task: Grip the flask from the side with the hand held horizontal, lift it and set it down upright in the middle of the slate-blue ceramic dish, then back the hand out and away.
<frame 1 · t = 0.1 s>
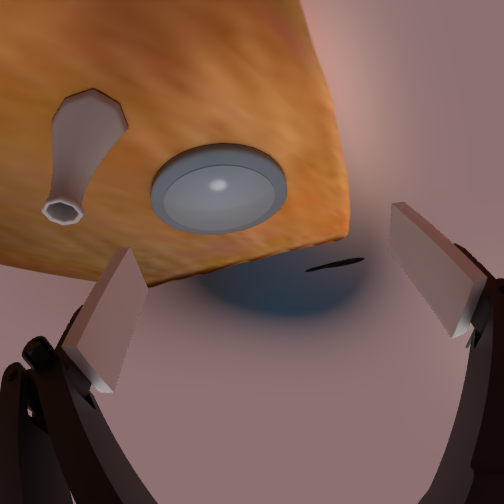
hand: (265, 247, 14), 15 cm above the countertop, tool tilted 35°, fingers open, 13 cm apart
dish: (218, 191, 34), on the countertop
flask: (90, 119, 21), on the countertop
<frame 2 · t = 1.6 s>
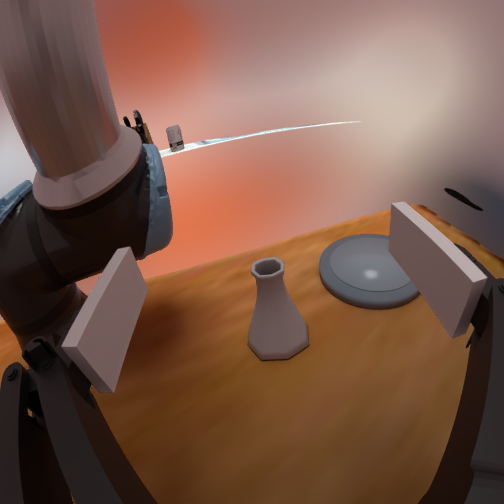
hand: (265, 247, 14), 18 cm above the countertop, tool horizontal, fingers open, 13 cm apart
dish: (373, 270, 39), on the countertop
supplement can: (178, 150, 158), on the countertop
flask: (278, 338, 32), on the countertop
knife block: (146, 160, 153), on the countertop
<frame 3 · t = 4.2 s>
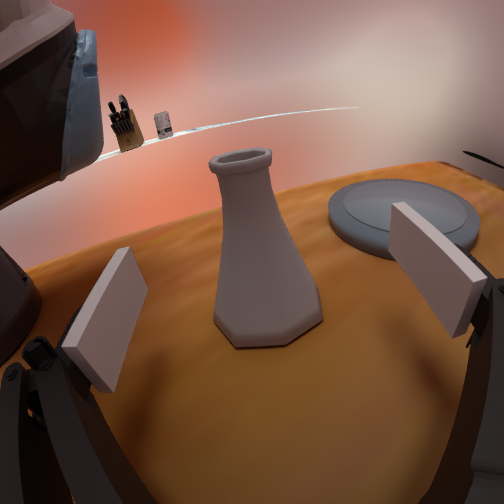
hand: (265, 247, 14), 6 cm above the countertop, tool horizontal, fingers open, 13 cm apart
dish: (405, 217, 26), on the countertop
supplement can: (166, 137, 145), on the countertop
flask: (268, 310, 19), on the countertop
knife block: (132, 148, 140), on the countertop
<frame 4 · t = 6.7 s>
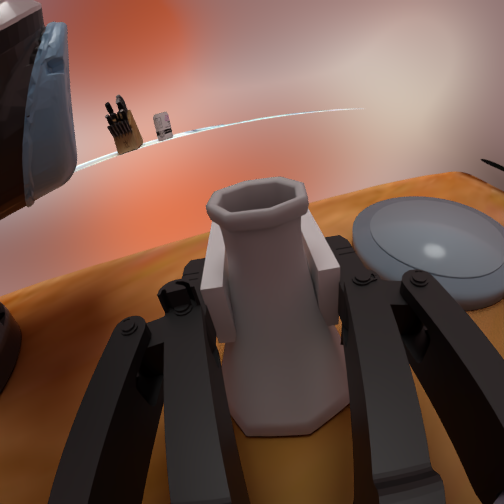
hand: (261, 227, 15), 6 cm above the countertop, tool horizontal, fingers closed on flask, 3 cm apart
dish: (438, 247, 21), on the countertop
supplement can: (165, 139, 141), on the countertop
flask: (285, 381, 14), on the countertop, touching gripper
knife block: (130, 150, 136), on the countertop
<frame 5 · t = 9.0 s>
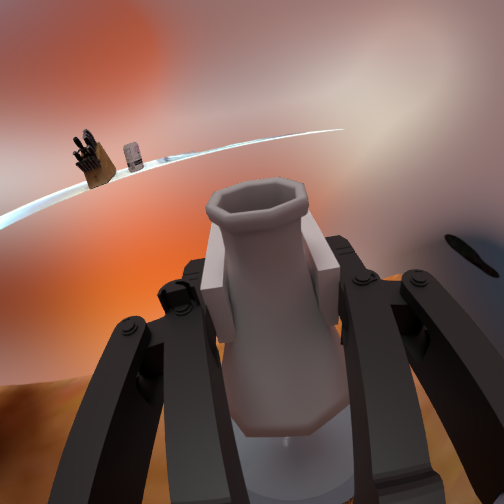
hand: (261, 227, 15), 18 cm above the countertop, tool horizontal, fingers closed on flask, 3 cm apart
dish: (295, 437, 21), on the countertop
supplement can: (136, 170, 140), on the countertop
flask: (285, 382, 14), point 12 cm above the countertop, touching gripper
knife block: (102, 183, 134), on the countertop
when the fingers open (9 cm above the countertop, at t = 11.4 s): flask drops 1 cm, resting on dish.
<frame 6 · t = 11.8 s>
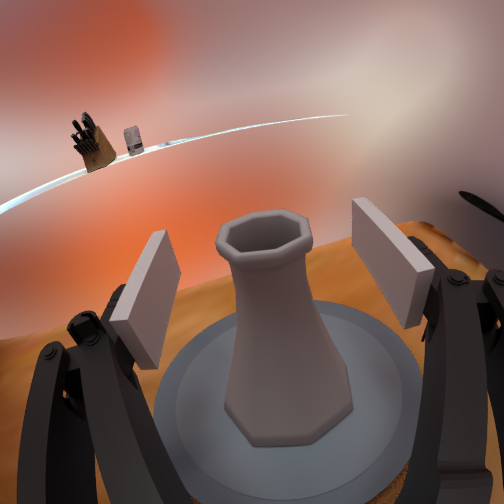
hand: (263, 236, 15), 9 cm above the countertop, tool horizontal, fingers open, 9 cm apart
dish: (289, 404, 15), on the countertop
supplement can: (137, 154, 135), on the countertop
flask: (287, 393, 14), point 1 cm above the countertop, touching dish
knife block: (101, 167, 130), on the countertop
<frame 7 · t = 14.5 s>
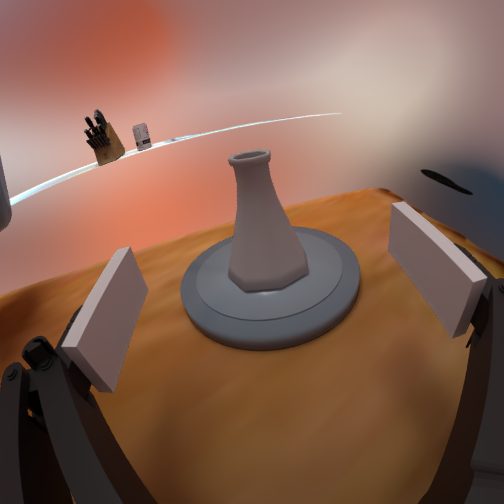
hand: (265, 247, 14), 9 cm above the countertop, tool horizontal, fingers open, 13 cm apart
dish: (270, 281, 26), on the countertop
supplement can: (145, 149, 146), on the countertop
flask: (268, 268, 25), point 1 cm above the countertop, touching dish
knife block: (111, 161, 141), on the countertop
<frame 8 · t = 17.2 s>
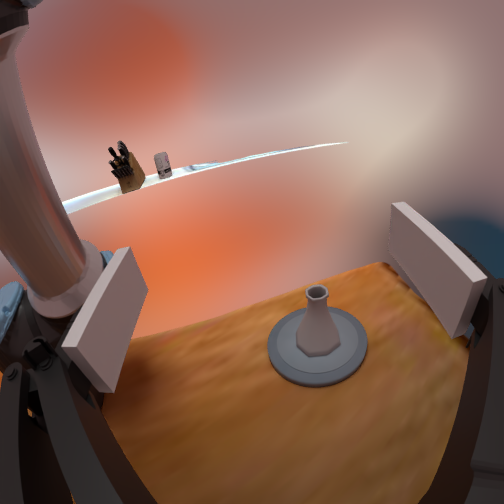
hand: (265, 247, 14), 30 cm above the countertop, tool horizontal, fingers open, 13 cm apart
dish: (317, 346, 44), on the countertop
supplement can: (166, 177, 164), on the countertop
flask: (317, 340, 43), point 1 cm above the countertop, touching dish
knife block: (133, 188, 158), on the countertop
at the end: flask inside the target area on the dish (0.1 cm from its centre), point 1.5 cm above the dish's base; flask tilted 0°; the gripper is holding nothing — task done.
